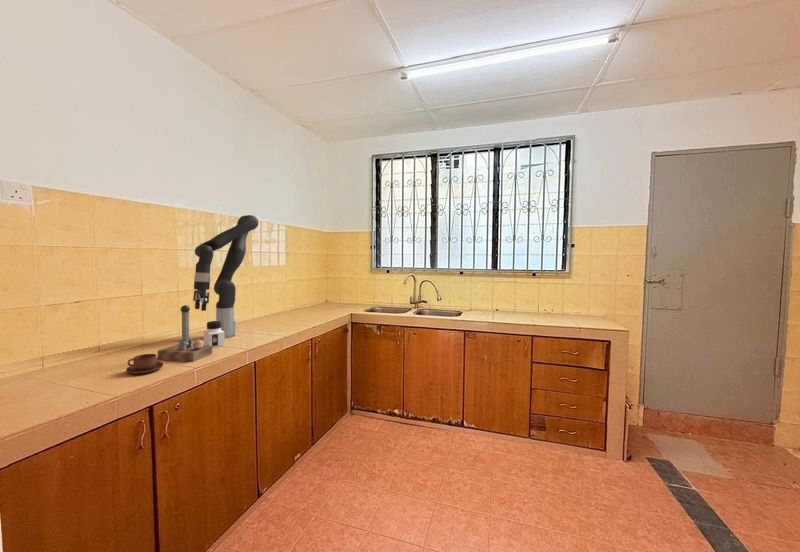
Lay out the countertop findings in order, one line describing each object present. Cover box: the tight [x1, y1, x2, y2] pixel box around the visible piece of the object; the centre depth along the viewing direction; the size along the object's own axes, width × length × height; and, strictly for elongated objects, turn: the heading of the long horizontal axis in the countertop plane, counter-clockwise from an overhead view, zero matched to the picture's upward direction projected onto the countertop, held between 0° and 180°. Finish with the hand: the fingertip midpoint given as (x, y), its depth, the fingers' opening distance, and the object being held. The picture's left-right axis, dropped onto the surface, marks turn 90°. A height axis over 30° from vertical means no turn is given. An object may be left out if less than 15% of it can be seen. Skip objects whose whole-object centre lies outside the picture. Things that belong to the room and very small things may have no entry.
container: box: [203, 320, 225, 349], centre depth 173 cm, size 8×8×13 cm
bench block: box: [157, 338, 213, 363], centre depth 154 cm, size 18×12×8 cm, turn 83°
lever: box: [180, 304, 191, 348], centre depth 153 cm, size 4×4×20 cm
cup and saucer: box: [125, 353, 164, 375], centre depth 134 cm, size 12×12×6 cm
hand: (200, 309), depth 182 cm, fingers open, 8 cm apart
